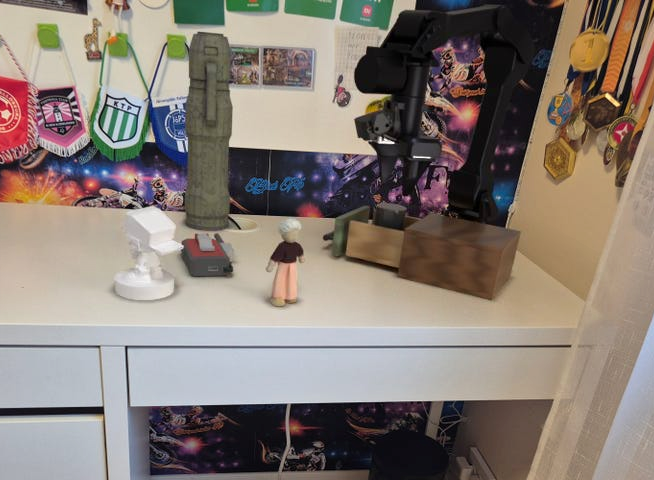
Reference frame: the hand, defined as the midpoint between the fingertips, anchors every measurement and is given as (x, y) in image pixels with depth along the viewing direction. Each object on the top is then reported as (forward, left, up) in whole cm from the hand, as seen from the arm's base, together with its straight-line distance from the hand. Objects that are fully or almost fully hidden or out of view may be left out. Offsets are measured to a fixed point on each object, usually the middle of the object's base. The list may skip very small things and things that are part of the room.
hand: (394, 189), depth 114 cm
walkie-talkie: (+22, -24, -13) cm, 35 cm away
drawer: (0, -2, -12) cm, 12 cm away
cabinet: (0, +14, -13) cm, 19 cm away
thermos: (+4, -37, -13) cm, 40 cm away
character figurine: (+40, -22, -13) cm, 48 cm away
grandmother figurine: (+30, -4, -13) cm, 33 cm away
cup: (0, 0, -11) cm, 11 cm away
